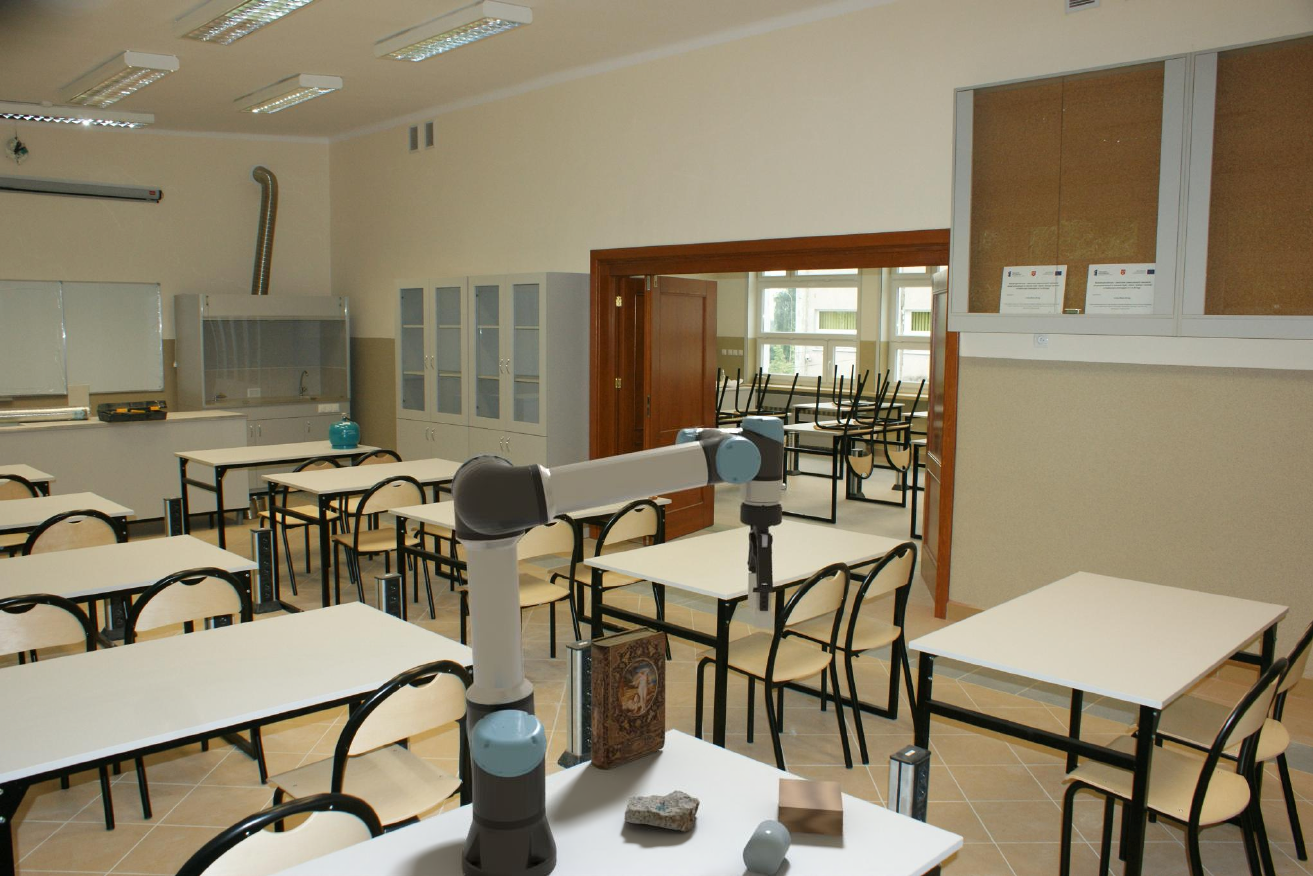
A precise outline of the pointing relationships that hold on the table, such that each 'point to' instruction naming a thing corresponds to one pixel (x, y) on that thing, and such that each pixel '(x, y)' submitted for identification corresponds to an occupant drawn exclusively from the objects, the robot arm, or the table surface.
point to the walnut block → (810, 806)
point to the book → (627, 696)
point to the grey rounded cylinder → (767, 848)
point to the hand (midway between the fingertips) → (758, 617)
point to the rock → (663, 810)
